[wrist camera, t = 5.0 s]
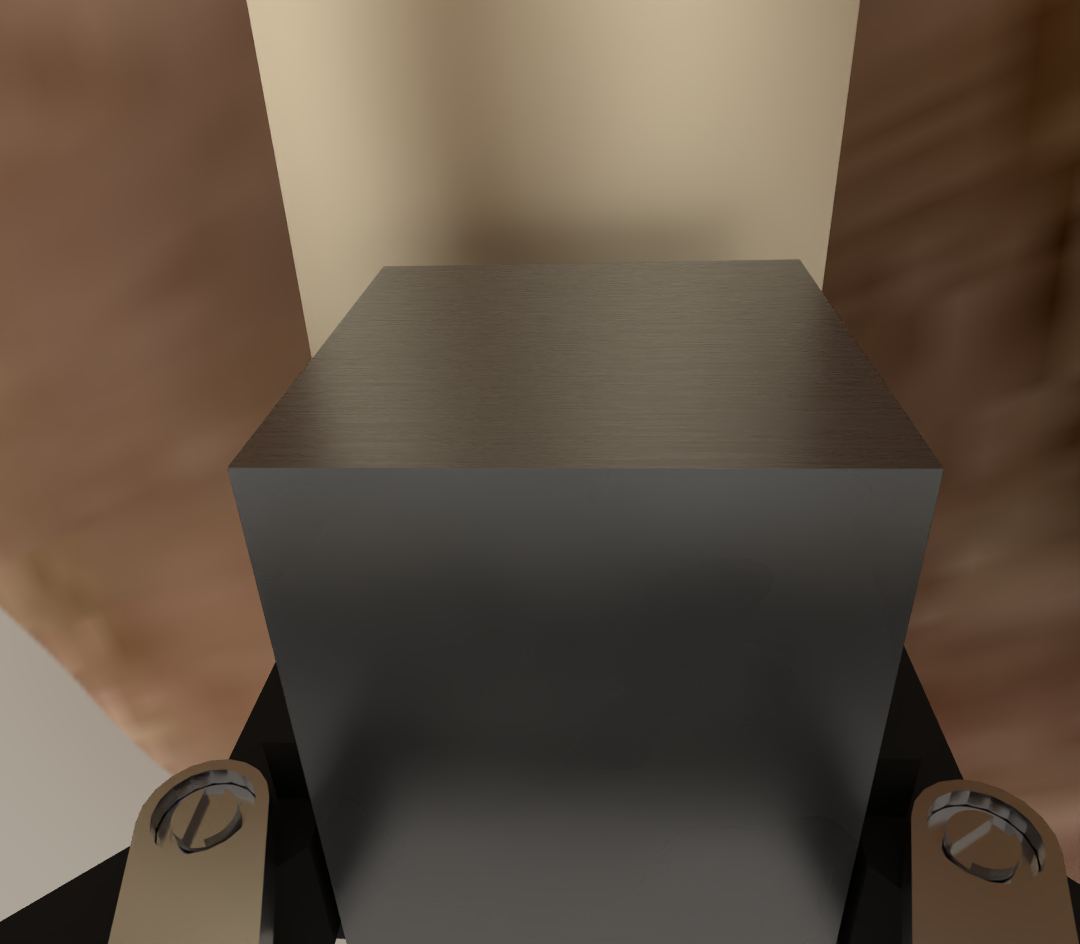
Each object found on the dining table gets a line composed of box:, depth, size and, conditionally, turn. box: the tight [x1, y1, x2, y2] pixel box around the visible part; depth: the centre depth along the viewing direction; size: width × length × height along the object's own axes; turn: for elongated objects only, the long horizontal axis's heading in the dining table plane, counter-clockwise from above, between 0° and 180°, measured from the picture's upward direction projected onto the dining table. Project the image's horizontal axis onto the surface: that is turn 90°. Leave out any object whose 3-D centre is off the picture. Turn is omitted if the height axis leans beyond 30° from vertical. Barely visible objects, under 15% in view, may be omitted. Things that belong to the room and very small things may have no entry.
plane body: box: [247, 0, 860, 358], centre depth 18 cm, size 9×22×5 cm, turn 2°
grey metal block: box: [228, 259, 944, 944], centre depth 11 cm, size 5×10×5 cm, turn 2°
